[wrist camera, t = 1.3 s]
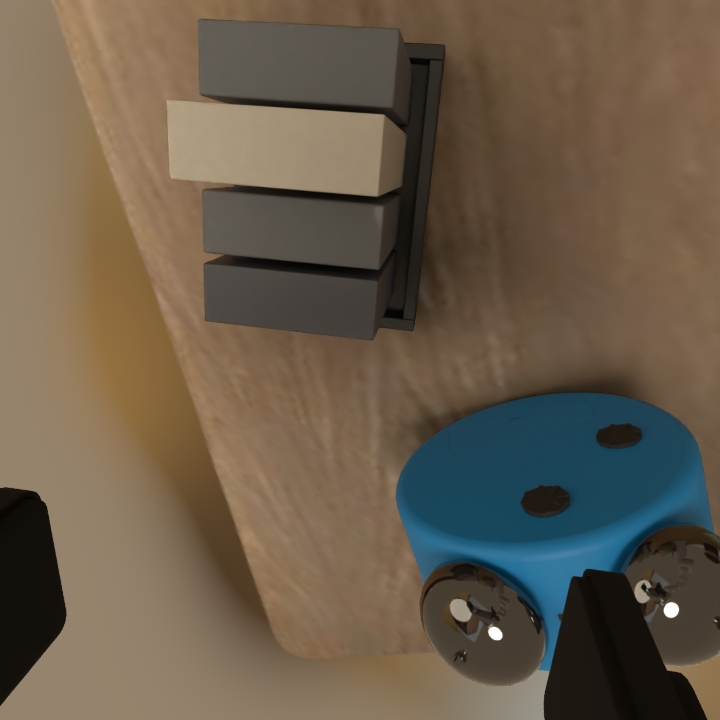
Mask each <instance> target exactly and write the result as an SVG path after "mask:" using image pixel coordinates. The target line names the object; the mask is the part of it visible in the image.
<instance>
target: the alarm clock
mask: <svg viewBox="0 0 720 720" xmlns="http://www.w3.org/2000/svg"><path fill="white" fill-rule="evenodd" d="M396 500H397V507H398V510H399V514H400V517H401V519H402V522H403V525H404V528H405V531H406V534H407V536H408V539H409V542H410V545H411V548H412V550H413V553H414V556H415V559H416V562H417V565H418V567H419V570H420V573H421V576H422V579H423V582H424V585H423V587H422V592H421V596H420V603H419V604H420V617H421V622H422V626H423V629H424V631H425V634H426V636H427V638H428V640H429V642H430V644H431V645H432V647H433V649H434V650H435V651H436V652H437V654H438V655H439V656H440V657H441V659H442V660H443V661H444V662H445V663H446V664H447V665H448V666H450V667H451V668H452V669H453V670H455V671H456V672H457V673H459V674H461V675H462V676H464V677H466V678H468V679H470V680H472V681H475V682H477V683H480V684H483V685H488V686H501V687H502V686H511V685H514V684H517V683H520V682H523V681H525V680H526V679H528V678H529V677H530V676H532V675H533V674H534V673H535V672H536V671H537V670H544V671H545V670H546V671H550V668H551V663H552V659H553V655H554V650H555V646H556V641H557V637H558V633H559V628H560V624H561V620H562V615H563V611H564V606H565V602H566V598H567V593H568V589H569V585H570V581H571V578H572V577H573V576H578V577H582V576H583V572H584V571H585V570H586V569H595V570H602V571H610V572H617V573H623V574H624V575H626V577H627V579H628V580H629V583H630V585H631V587H632V590H633V592H634V594H635V597H636V599H637V601H638V604H639V606H640V608H641V611H642V613H643V615H644V618H645V620H646V623H647V625H648V627H649V630H650V632H651V634H652V637H653V639H654V641H655V644H656V646H657V648H658V651H659V653H660V655H661V658H662V660H663V662H664V665H670V666H683V667H684V666H692V665H696V664H700V663H703V662H706V661H709V660H711V659H713V658H715V657H717V656H718V655H719V654H720V537H718V536H717V535H715V534H714V531H713V525H712V519H711V513H710V507H709V501H708V495H707V489H706V483H705V477H704V471H703V465H702V459H701V454H700V451H699V447H698V445H697V442H696V441H695V439H694V437H693V435H692V434H691V432H690V431H689V430H688V429H687V427H686V426H685V425H683V424H682V423H681V422H680V421H679V420H678V419H677V418H675V417H674V416H672V415H671V414H670V413H668V412H666V411H664V410H662V409H661V408H658V407H656V406H654V405H651V404H649V403H646V402H643V401H639V400H636V399H632V398H628V397H623V396H618V395H610V394H602V393H584V392H580V393H557V394H547V395H539V396H533V397H527V398H522V399H518V400H513V401H509V402H505V403H502V404H499V405H495V406H492V407H489V408H486V409H483V410H481V411H478V412H476V413H473V414H471V415H469V416H467V417H464V418H462V419H460V420H458V421H456V422H454V423H453V424H451V425H449V426H447V427H446V428H444V429H443V430H441V431H439V432H438V433H437V434H435V435H434V436H432V437H431V438H430V439H429V440H427V441H426V442H425V443H424V444H423V445H422V446H421V447H420V448H419V449H418V450H416V452H415V453H414V454H413V455H412V456H411V457H410V459H409V460H408V462H407V463H406V464H405V466H404V468H403V470H402V472H401V475H400V477H399V480H398V484H397V488H396Z"/></svg>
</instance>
